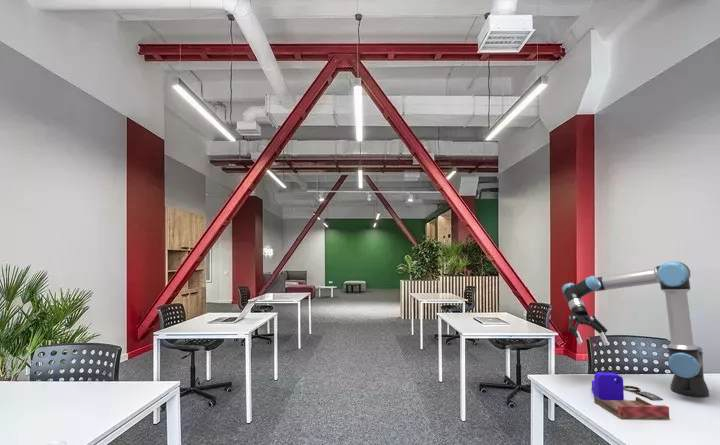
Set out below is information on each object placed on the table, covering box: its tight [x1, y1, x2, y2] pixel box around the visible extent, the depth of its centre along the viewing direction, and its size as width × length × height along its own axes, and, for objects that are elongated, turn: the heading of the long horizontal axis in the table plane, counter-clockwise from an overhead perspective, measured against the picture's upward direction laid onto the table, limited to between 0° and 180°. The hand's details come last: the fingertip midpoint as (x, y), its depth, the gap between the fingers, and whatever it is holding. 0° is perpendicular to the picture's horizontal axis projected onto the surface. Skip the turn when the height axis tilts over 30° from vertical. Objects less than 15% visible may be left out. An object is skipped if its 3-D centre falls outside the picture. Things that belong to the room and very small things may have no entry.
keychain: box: [623, 385, 664, 401], centre depth 209 cm, size 8×19×2 cm, turn 9°
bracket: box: [591, 371, 625, 400], centre depth 207 cm, size 18×11×12 cm, turn 174°
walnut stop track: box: [593, 396, 670, 421], centre depth 186 cm, size 20×20×5 cm
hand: (593, 344), depth 216 cm, fingers open, 13 cm apart
